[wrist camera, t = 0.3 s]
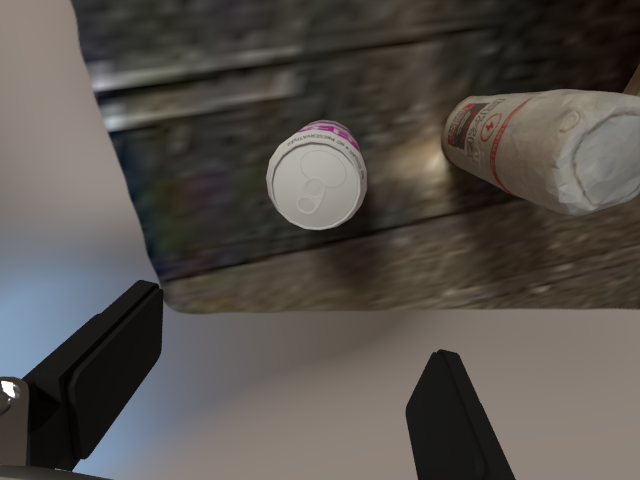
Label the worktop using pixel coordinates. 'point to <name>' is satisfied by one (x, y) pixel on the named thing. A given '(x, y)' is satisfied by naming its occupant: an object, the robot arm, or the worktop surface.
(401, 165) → the worktop surface
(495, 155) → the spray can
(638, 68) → the board
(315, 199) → the supplement can
